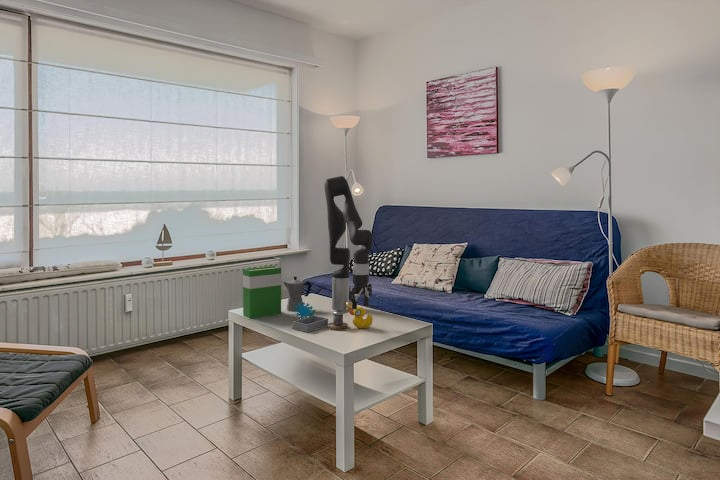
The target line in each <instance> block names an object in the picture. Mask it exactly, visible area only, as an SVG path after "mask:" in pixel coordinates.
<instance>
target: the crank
mask: <svg viewBox="0 0 720 480" xmlns="http://www.w3.org/2000/svg"><path fill="white" fill-rule="evenodd" d="M349 309H350V310H353V308H352V301H350V302H346V309H344V310H335V311H333V312H332V313H333V315H335V316H341V315H343V316H344V314H348V313H349Z"/></svg>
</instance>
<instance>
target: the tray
mask: <svg viewBox="0 0 720 480" xmlns="http://www.w3.org/2000/svg"><path fill="white" fill-rule="evenodd" d="M328 324H329V318H327V317H322V316H318V315H314V316H310V317H309V316H307V318H305V317H303V318H302V319H300V318H299V319H296V320H293V321H292V329H293V330H295V331H300V332H304V333H310V332H312V331H317V330H320V329H324V328H326V327H328Z"/></svg>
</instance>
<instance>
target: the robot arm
mask: <svg viewBox="0 0 720 480" xmlns="http://www.w3.org/2000/svg"><path fill="white" fill-rule="evenodd" d="M324 193H325V201H326V209H327V228H328V238H329V262H330V264H331V265H335V266H337V265H338V266H343V267H341V268H340V269H337V270H334V271H333V272H332V274H331V277H332V278H331V279H332V281H331V283H332V284H331V285H332V286H331V291H332V292H331V302H332V303H331V308H332V310H335V311H341V310H344V309H346V302H352V310H354V309H357V307H358V299H359V298H360V296H363V306H364V307H368V306H369V301H370V300H369V299H370V297H372V295H373V292H372V291H373V286H372V285H373V284H372V283H369V282H370V266H369V265H370V263H369V261H370V260H369V259H370V258H369V257H370V252H371V247H372V244H373V241H374V238H373V237H374V236H373V232H372V231H370V230H369V229H361V228H362V226H363V221H362V218H361V216H360V214H359V212H358V210H357V208H356V205H355V200H354V198H353V195H352V191H351V188H350V185H349V183H348V180H347V179H346V177H345V176H344V175H343V176H341V175H340V176H336V177H335V176H334V177H331V178H326V179H325V180H324ZM339 196H344V199H345V201H344V207H343V210H341V209H340V207H338V206H337V204H336V202H335V197H339ZM347 228H348V229H347ZM346 230H348V236H349V237H348V238H349V241H350V243H351V244H352V245H354V246H360V248H359V249H357V250H355V251H354V252H353V266H352V283H353V286H350V264H351V262H350V261H351V251H350V248H348V247H337V244H338V243H339V241H340V239H341V237H343V235H344V234H345V233H346Z"/></svg>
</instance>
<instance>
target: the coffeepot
mask: <svg viewBox="0 0 720 480" xmlns="http://www.w3.org/2000/svg"><path fill="white" fill-rule="evenodd" d="M297 278H298V277H297V276H293V279H292V280H287V281H283V282H282V283H283V285H284V286H285V287H286V289H287V294H288V299H287V304H286V310H287V311H289V312H294V313H296V312H295V309H297V308H295V307H296V306H298V303H301V305H300V306H302V303H303V302H304V301H303V297H302V295H303V296H304V297H308V296H309V294H310V291H311V289H312V285H313V284H312V283H311V281H309V280H306V281H305V280H299V279H297ZM306 285H308V286H307V290H306V294H303V290H304V286H306ZM298 308H300V307H299V306H298ZM297 310H298V309H297ZM298 311H299V310H298Z"/></svg>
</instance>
